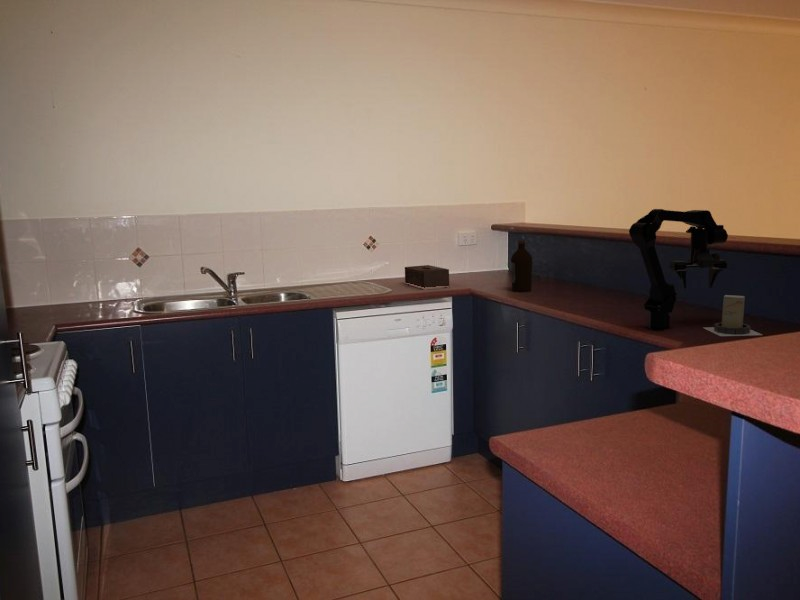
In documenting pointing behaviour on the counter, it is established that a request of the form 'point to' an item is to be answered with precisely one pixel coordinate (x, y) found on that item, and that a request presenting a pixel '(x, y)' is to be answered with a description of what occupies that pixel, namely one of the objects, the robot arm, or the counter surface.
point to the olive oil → (521, 269)
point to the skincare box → (733, 311)
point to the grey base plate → (731, 334)
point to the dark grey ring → (732, 329)
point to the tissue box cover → (427, 276)
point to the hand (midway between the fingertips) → (697, 288)
